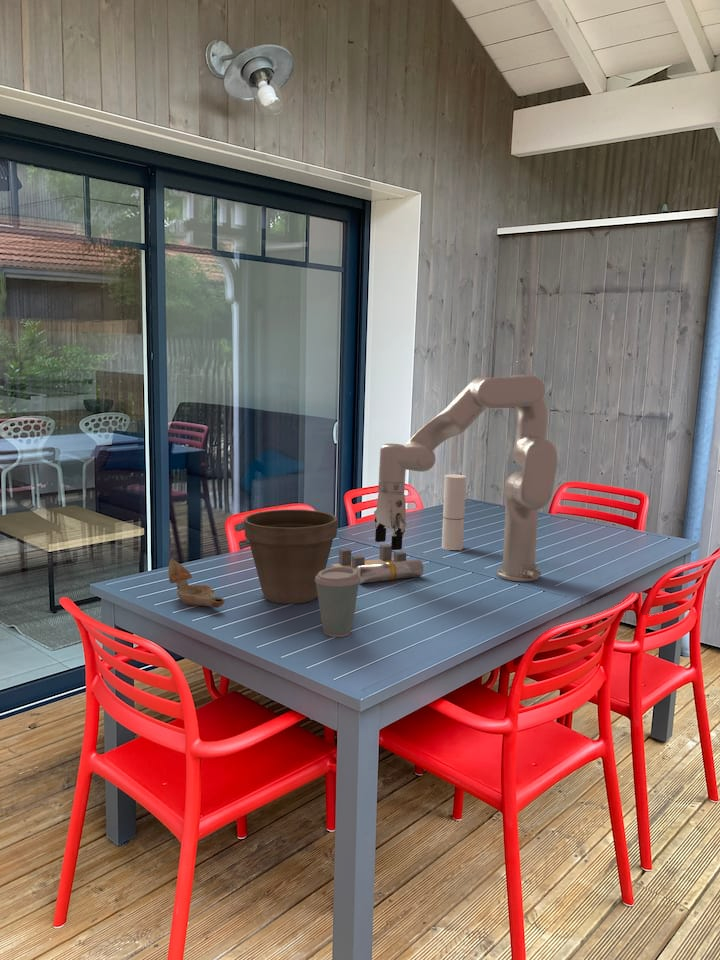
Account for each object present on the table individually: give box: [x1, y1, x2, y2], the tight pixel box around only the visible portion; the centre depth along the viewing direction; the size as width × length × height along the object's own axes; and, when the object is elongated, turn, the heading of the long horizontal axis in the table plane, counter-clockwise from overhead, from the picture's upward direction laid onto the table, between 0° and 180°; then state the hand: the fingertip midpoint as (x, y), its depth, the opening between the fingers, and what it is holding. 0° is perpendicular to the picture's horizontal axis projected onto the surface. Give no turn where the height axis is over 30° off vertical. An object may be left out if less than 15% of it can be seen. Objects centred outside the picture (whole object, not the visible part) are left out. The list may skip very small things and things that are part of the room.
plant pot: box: [243, 509, 338, 605], centre depth 206 cm, size 25×25×22 cm
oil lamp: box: [167, 558, 226, 609], centre depth 199 cm, size 9×21×10 cm, turn 49°
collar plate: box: [330, 544, 407, 569], centre depth 234 cm, size 11×22×6 cm, turn 116°
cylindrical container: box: [441, 473, 467, 551], centre depth 261 cm, size 7×7×25 cm
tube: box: [356, 558, 424, 585], centre depth 224 cm, size 20×5×5 cm, turn 116°
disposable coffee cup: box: [315, 566, 360, 638], centre depth 180 cm, size 11×11×15 cm
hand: (388, 545), depth 223 cm, fingers open, 9 cm apart
